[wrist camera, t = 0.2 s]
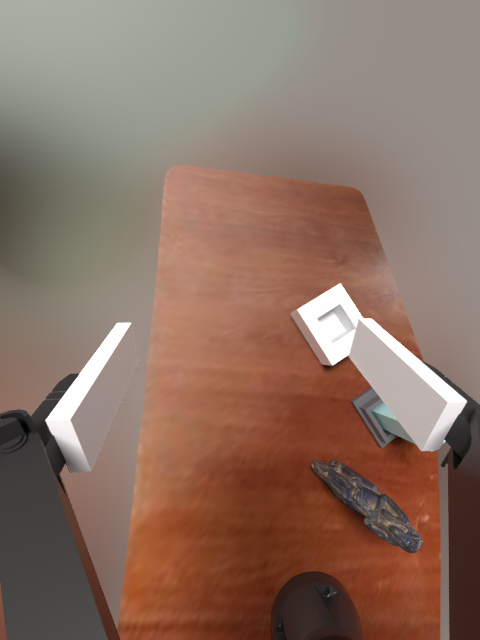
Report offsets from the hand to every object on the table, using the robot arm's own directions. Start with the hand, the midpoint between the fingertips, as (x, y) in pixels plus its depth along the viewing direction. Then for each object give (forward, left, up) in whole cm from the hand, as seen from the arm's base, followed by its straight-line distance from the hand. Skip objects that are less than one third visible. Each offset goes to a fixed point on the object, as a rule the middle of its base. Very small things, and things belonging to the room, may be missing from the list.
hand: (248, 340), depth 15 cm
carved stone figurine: (-31, -5, -36) cm, 48 cm away
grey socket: (-26, -19, -36) cm, 48 cm away
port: (-6, -19, -36) cm, 41 cm away
